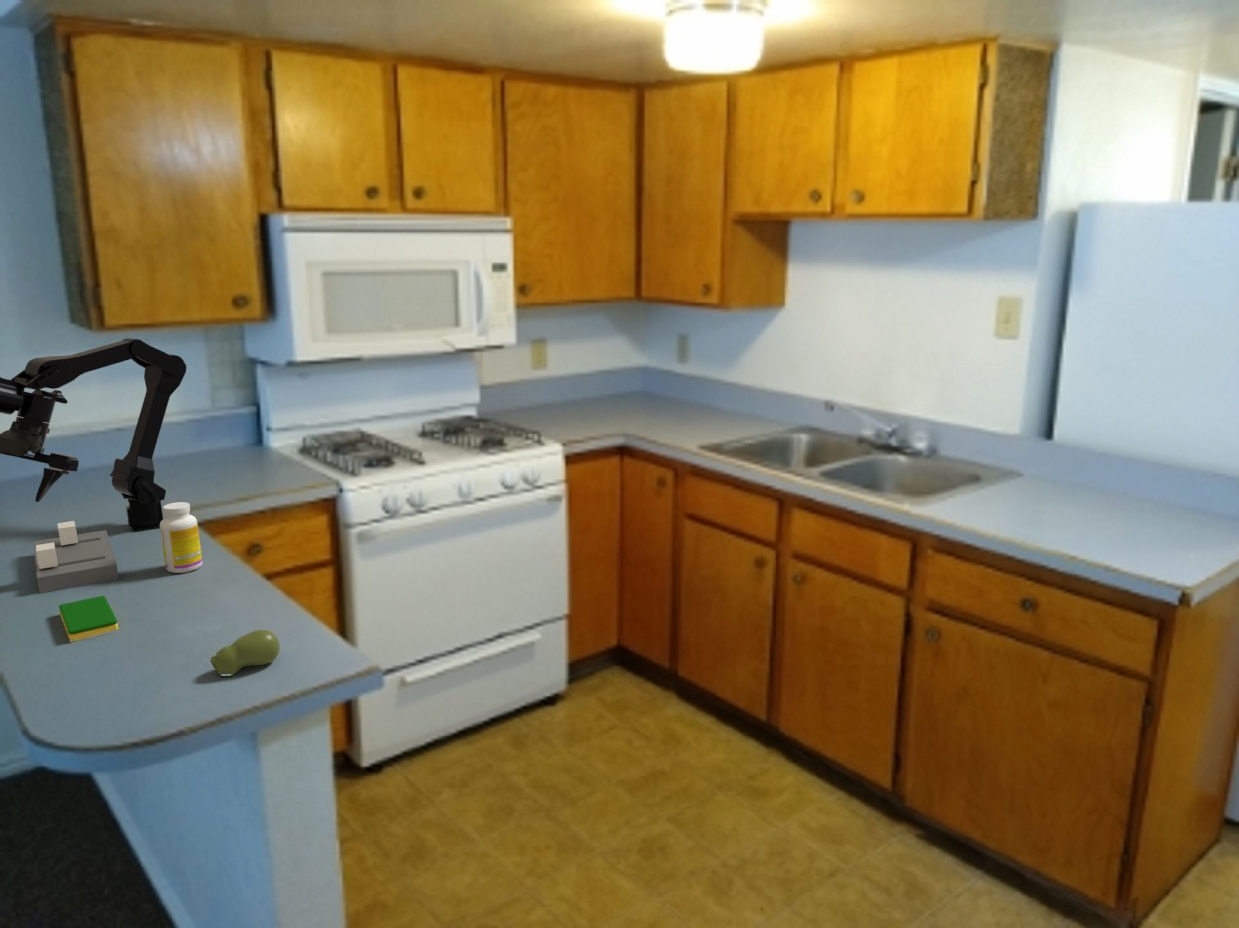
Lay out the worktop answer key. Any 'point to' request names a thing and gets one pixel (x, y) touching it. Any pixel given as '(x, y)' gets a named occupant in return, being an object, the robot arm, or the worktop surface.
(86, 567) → the grey slider switch panel
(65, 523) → the cream matte cube
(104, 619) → the dish sponge
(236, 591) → the worktop surface
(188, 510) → the supplement bottle
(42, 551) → the on handle
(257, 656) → the pear
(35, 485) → the worktop surface
